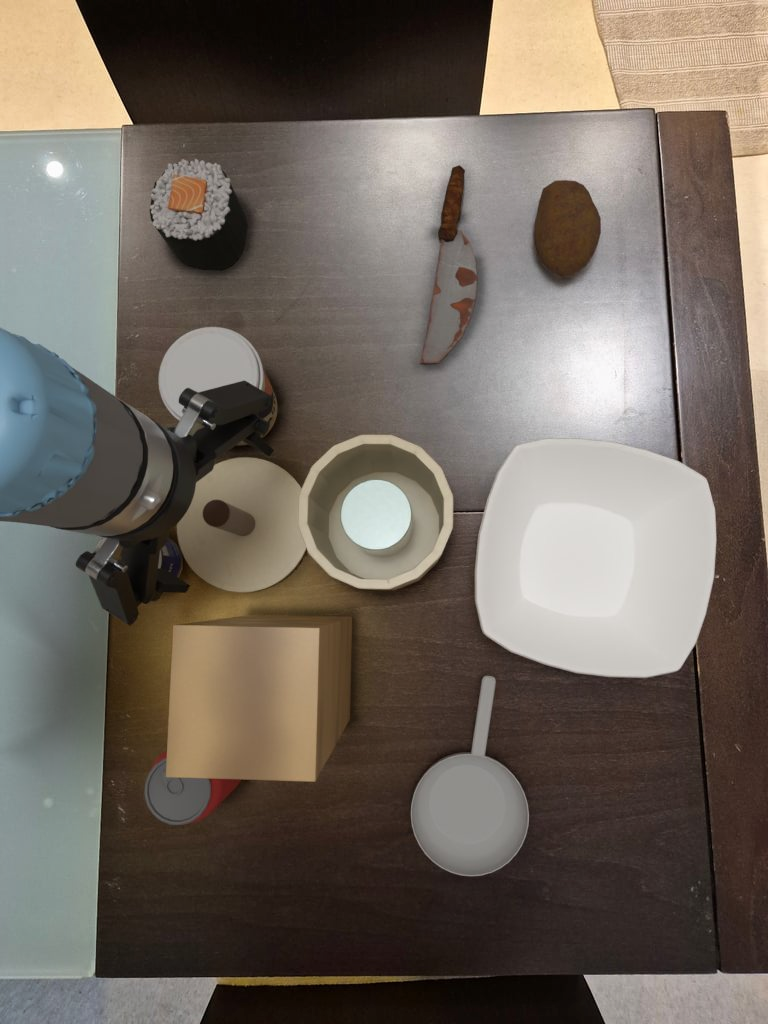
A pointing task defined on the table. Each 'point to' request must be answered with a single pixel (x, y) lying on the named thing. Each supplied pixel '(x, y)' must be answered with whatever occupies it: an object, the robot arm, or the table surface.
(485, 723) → the small pan
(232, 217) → the sushi
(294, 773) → the stand
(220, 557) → the lid
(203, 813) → the beer can
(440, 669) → the table surface
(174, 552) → the pill bottle
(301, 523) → the pot
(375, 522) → the canister
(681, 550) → the bowl
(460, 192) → the kitchen knife
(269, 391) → the coffee cup
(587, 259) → the potato
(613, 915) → the table surface
